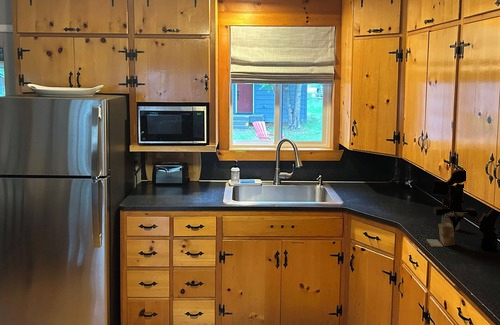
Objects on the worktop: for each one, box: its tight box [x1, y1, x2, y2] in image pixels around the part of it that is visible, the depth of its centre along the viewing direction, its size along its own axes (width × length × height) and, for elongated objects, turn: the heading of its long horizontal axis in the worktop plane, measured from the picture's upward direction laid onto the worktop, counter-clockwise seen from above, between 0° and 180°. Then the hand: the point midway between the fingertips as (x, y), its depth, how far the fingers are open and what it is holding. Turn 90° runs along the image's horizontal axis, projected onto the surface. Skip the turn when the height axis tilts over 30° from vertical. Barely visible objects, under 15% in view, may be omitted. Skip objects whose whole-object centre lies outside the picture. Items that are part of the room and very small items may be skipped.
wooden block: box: [438, 223, 456, 247], centre depth 263 cm, size 5×6×9 cm
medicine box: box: [440, 213, 461, 232], centre depth 289 cm, size 8×4×9 cm, turn 45°
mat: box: [426, 238, 444, 248], centre depth 264 cm, size 5×10×1 cm, turn 177°
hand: (453, 229), depth 262 cm, fingers closed
